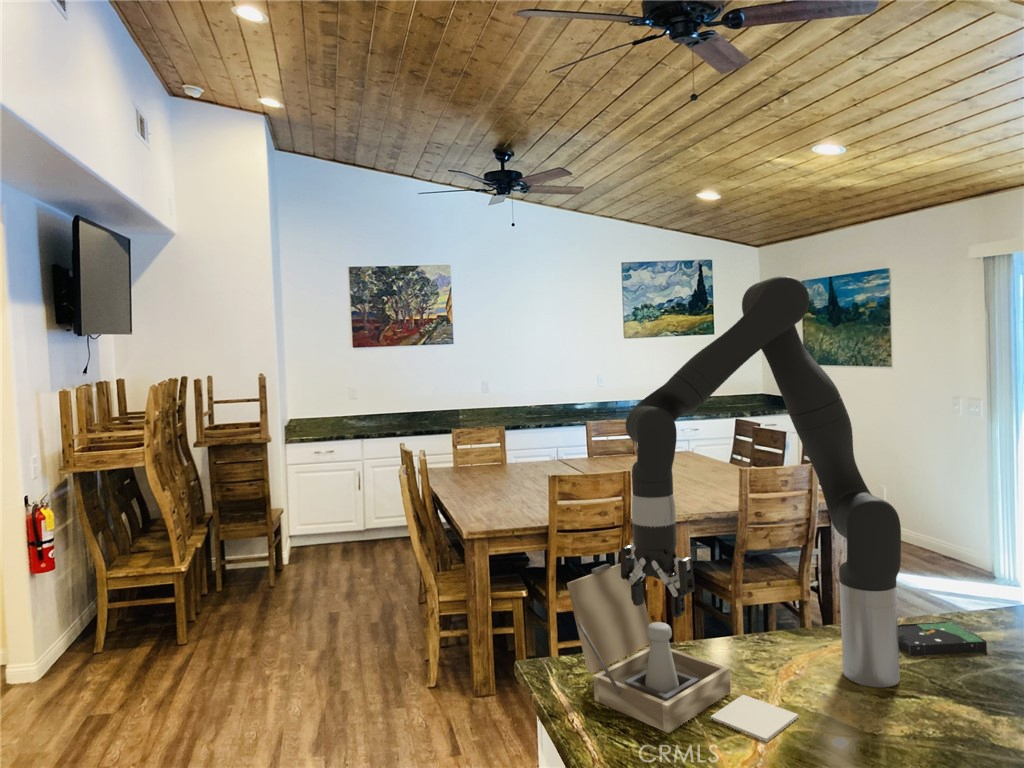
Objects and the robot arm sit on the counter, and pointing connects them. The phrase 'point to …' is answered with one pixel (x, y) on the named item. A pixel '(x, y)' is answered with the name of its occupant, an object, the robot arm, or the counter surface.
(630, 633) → the lid
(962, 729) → the counter surface
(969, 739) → the counter surface
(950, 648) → the disk drive
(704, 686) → the case
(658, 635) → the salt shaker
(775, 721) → the tile
